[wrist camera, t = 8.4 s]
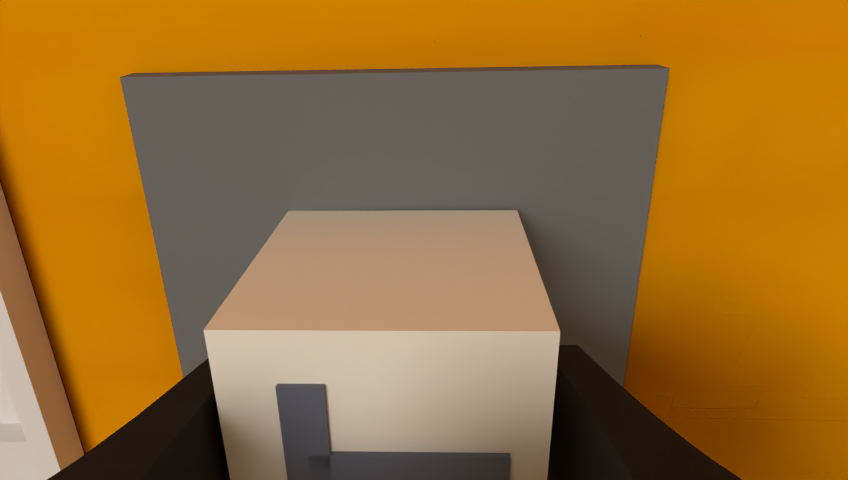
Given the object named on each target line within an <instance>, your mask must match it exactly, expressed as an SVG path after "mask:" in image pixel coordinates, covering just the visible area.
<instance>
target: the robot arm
mask: <svg viewBox="0 0 848 480" xmlns="http://www.w3.org/2000/svg"><path fill="white" fill-rule="evenodd" d="M47 480H230V476H229V470H228V464H227V459H226V453H225V448H224V442H223V436H222V431H221V425H220V420H219V414H218V408H217V403H216V397H215V392H214V386H213V381H212V375H211V369H210V364H209V358H208V359H206V360H205V361H204V362H203V363H201V364H200V365H199V366H198V367H197V368H195V369H194V370H193V371H192V372H190V373H189V374H188V375H187V376H186V377H184V378H183V379H182V380H181V381H180V382H178V383H177V384H176V385H175V386H174V387H172V388H171V389H170V390H169V391H167V392H166V393H165V394H164V395H162V396H161V397H160V398H159V399H157V400H156V401H155V402H154V403H152V404H151V405H150V406H149V407H147V408H146V409H145V410H144V411H143V412H141V413H140V414H139V415H137V416H136V417H135V418H134V419H132V420H131V421H129V422H128V423H127V424H125V425H124V426H123V427H121V428H120V429H119V430H117V431H116V432H115V433H113V434H112V435H111V436H109V437H108V438H107V439H105V440H104V441H102V442H101V443H100V444H98V445H97V446H96V447H94V448H93V449H92V450H90V451H89V452H88V453H86V454H85V455H83V456H82V457H80V458H79V459H77V460H76V461H75V462H73V463H72V464H70V465H69V466H67V467H66V468H64V469H63V470H61V471H60V472H58V473H56V474H55V475H53V476H52V477H50V478H49V479H47ZM547 480H741V479H740V478H739V477H737V476H736V475H734V474H733V473H731V472H730V471H728V470H727V469H725V468H724V467H722V466H721V465H719V464H718V463H716V462H715V461H713V460H712V459H710V458H709V457H708V456H706V455H705V454H704V453H702V452H701V451H699V450H698V449H697V448H695V447H694V446H693V445H691V444H690V443H689V442H688V441H686V440H685V439H684V438H682V437H681V436H680V435H679V434H677V433H676V432H675V431H673V430H672V429H671V428H670V427H668V426H667V425H666V424H665V423H663V422H662V421H661V420H660V419H659V418H657V417H656V416H655V415H654V414H653V413H651V412H650V411H649V410H648V409H647V408H646V407H644V406H643V405H642V404H641V403H640V402H639V401H638V400H636V399H635V398H634V397H633V396H632V395H631V394H630V393H628V392H627V391H626V390H625V389H624V388H623V387H622V386H621V385H620V384H619V383H618V382H616V381H615V380H614V379H613V378H612V377H611V376H610V375H609V374H608V373H607V372H606V371H605V370H604V369H603V368H601V367H600V366H599V365H598V364H597V363H596V362H595V361H594V360H593V359H592V358H591V357H590V356H589V355H588V354H587V353H586V352H585V351H583V350H582V349H581V348H580V347H579V346H578V345H559V352H558V364H557V375H556V386H555V397H554V408H553V420H552V431H551V442H550V453H549V465H548V476H547Z"/></svg>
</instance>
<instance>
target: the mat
mask: <svg viewBox="0 0 848 480" xmlns="http://www.w3.org/2000/svg"><path fill="white" fill-rule="evenodd" d="M668 74H669V68H667V67H664V66H661V65H609V66H548V67H486V68H425V69H363V70H302V71H240V72H179V73H133V74H129V75H126V76H122V77H120V79H121V84H122V89H123V93H124V98H125V103H126V108H127V112H128V117H129V122H130V126H131V131H132V136H133V141H134V145H135V150H136V155H137V160H138V164H139V169H140V174H141V179H142V183H143V188H144V193H145V198H146V202H147V207H148V212H149V217H150V221H151V226H152V231H153V236H154V240H155V245H156V250H157V254H158V259H159V264H160V269H161V273H162V278H163V283H164V288H165V292H166V297H167V302H168V307H169V311H170V316H171V321H172V326H173V330H174V335H175V340H176V345H177V349H178V354H179V359H180V364H181V368H182V373H183V378H184V377H186V376H187V375H188V374H189V373H190V372H192V371H193V370H194V369H195V368H197V367H198V366H199V365H200V364H201V363H203V362H204V361H205V360H206V359H208V353H207V347H206V341H205V336H204V329H205V327H206V326H207V324H208V323H209V322H210V320H211V319H212V317H213V316H214V315H215V313H216V312H217V310H218V309H219V308H220V306H221V305H222V303H223V302H224V300H225V299H226V298H227V296H228V295H229V293H230V292H231V291H232V289H233V288H234V286H235V285H236V284H237V282H238V281H239V279H240V278H241V277H242V275H243V274H244V272H245V271H246V270H247V268H248V267H249V265H250V264H251V263H252V261H253V260H254V258H255V257H256V256H257V254H258V253H259V251H260V250H261V248H262V247H263V246H264V244H265V243H266V241H267V240H268V239H269V237H270V236H271V234H272V233H273V232H274V230H275V229H276V227H277V226H278V225H279V223H280V222H281V220H282V219H283V218H284V216H285V215H286V213H287V212H288V211H388V210H517V211H518V214H519V217H520V220H521V222H522V225H523V228H524V231H525V234H526V237H527V239H528V242H529V245H530V248H531V251H532V253H533V256H534V259H535V262H536V265H537V267H538V270H539V273H540V276H541V279H542V281H543V284H544V287H545V290H546V293H547V295H548V298H549V301H550V304H551V307H552V309H553V312H554V315H555V318H556V321H557V323H558V326H559V329H560V341H559V345H578V346H579V347H580V348H581V349H582V350H583V351H585V352H586V353H587V354H588V355H589V356H590V357H591V358H592V359H593V360H594V361H595V362H596V363H597V364H598V365H599V366H600V367H601V368H603V369H604V370H605V371H606V372H607V373H608V374H609V375H610V376H611V377H612V378H613V379H614V380H615V381H616V382H618V383H619V384H620V385H621V386H622V387H624V380H625V373H626V366H627V359H628V352H629V345H630V338H631V331H632V324H633V317H634V310H635V303H636V296H637V289H638V282H639V275H640V268H641V261H642V254H643V248H644V241H645V234H646V227H647V220H648V213H649V206H650V199H651V192H652V185H653V178H654V171H655V164H656V157H657V150H658V143H659V136H660V129H661V122H662V115H663V108H664V101H665V94H666V87H667V81H668Z"/></svg>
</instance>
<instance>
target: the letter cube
mask: <svg viewBox="0 0 848 480" xmlns="http://www.w3.org/2000/svg"><path fill="white" fill-rule="evenodd" d="M204 336H205V341H206V347H207V353H208V358H209V364H210V369H211V375H212V381H213V386H214V392H215V397H216V403H217V408H218V414H219V420H220V425H221V431H222V436H223V442H224V448H225V453H226V459H227V464H228V470H229V476H230V480H547V476H548V465H549V453H550V442H551V431H552V420H553V408H554V397H555V386H556V375H557V364H558V352H559V341H560V329H559V326H558V323H557V321H556V318H555V315H554V312H553V309H552V307H551V304H550V301H549V298H548V295H547V293H546V290H545V287H544V284H543V281H542V279H541V276H540V273H539V270H538V267H537V265H536V262H535V259H534V256H533V253H532V251H531V248H530V245H529V242H528V239H527V237H526V234H525V231H524V228H523V225H522V222H521V220H520V217H519V214H518V211H517V210H388V211H288V212H287V213H286V215H285V216H284V218H283V219H282V220H281V222H280V223H279V225H278V226H277V227H276V229H275V230H274V232H273V233H272V234H271V236H270V237H269V239H268V240H267V241H266V243H265V244H264V246H263V247H262V248H261V250H260V251H259V253H258V254H257V256H256V257H255V258H254V260H253V261H252V263H251V264H250V265H249V267H248V268H247V270H246V271H245V272H244V274H243V275H242V277H241V278H240V279H239V281H238V282H237V284H236V285H235V286H234V288H233V289H232V291H231V292H230V293H229V295H228V296H227V298H226V299H225V300H224V302H223V303H222V305H221V306H220V308H219V309H218V310H217V312H216V313H215V315H214V316H213V317H212V319H211V320H210V322H209V323H208V324H207V326H206V327H205V329H204Z"/></svg>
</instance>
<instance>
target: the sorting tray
mask: <svg viewBox="0 0 848 480" xmlns="http://www.w3.org/2000/svg"><path fill="white" fill-rule="evenodd" d="M83 455H84V452H83V448H82V445H81V442H80V439H79V436H78V432H77V429H76V426H75V423H74V419H73V416H72V413H71V410H70V406H69V403H68V400H67V397H66V394H65V390H64V387H63V384H62V381H61V377H60V374H59V371H58V368H57V365H56V361H55V358H54V355H53V352H52V348H51V345H50V342H49V339H48V335H47V332H46V329H45V326H44V323H43V319H42V316H41V313H40V310H39V306H38V303H37V300H36V297H35V293H34V290H33V287H32V284H31V281H30V277H29V274H28V271H27V268H26V264H25V261H24V258H23V255H22V251H21V248H20V245H19V242H18V239H17V235H16V232H15V229H14V226H13V222H12V219H11V216H10V213H9V210H8V206H7V203H6V200H5V197H4V193H3V190H2V187H1V184H0V480H47V479H49V478H50V477H52V476H53V475H55V474H56V473H58V472H60V471H61V470H63V469H64V468H66V467H67V466H69V465H70V464H72V463H73V462H75V461H76V460H77V459H79V458H80V457H82V456H83Z"/></svg>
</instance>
